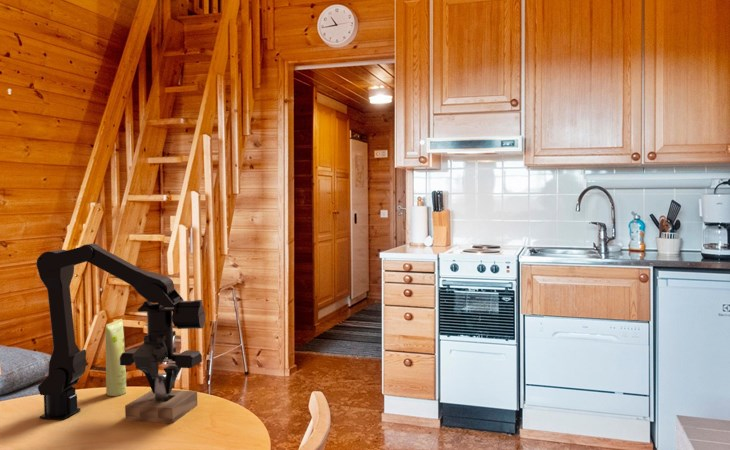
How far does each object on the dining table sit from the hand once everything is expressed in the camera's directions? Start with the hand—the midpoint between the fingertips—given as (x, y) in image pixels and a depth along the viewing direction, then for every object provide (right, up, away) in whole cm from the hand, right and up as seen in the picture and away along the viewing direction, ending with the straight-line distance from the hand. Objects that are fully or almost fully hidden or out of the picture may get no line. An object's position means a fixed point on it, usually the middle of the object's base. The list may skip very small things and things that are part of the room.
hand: (161, 393), depth 139 cm
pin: (0, -4, 0) cm, 4 cm away
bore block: (0, -5, 0) cm, 5 cm away
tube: (-17, -5, +15) cm, 23 cm away
